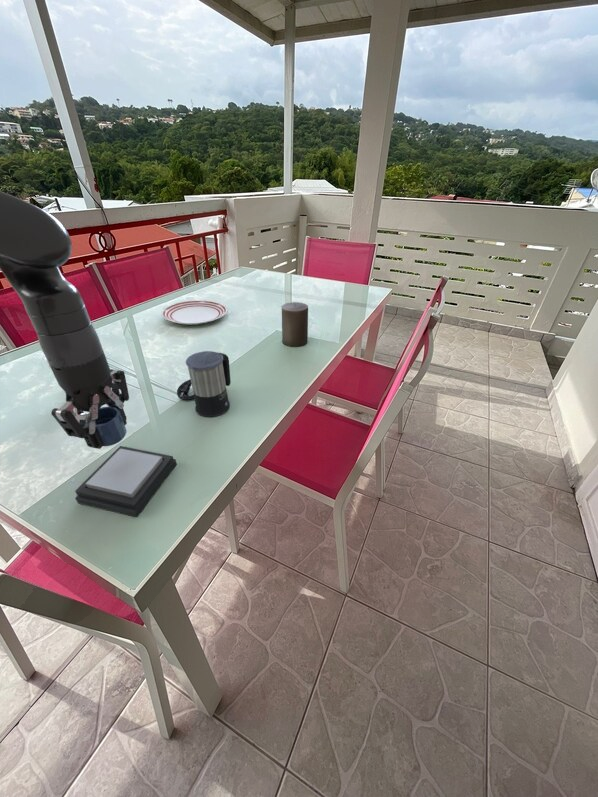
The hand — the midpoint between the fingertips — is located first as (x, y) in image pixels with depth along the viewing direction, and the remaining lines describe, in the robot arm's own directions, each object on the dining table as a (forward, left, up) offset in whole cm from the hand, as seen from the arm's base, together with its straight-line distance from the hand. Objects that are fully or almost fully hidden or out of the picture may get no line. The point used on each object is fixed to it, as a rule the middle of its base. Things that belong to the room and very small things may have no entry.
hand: (109, 435), depth 61 cm
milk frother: (+30, -1, -13) cm, 33 cm away
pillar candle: (+75, -16, -13) cm, 78 cm away
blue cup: (0, 0, -1) cm, 1 cm away
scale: (0, 0, -13) cm, 13 cm away
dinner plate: (+88, +32, -13) cm, 94 cm away
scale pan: (0, 0, -10) cm, 10 cm away
